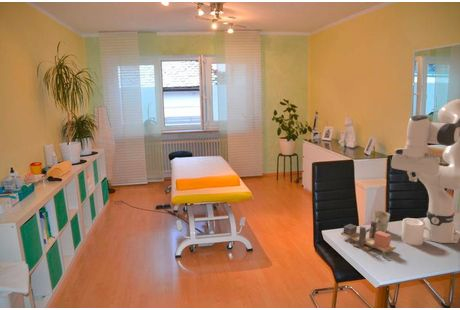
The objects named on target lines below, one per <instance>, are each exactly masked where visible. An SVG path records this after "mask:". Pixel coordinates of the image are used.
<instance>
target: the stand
mask: <svg viewBox="0 0 460 310" xmlns="http://www.w3.org/2000/svg"><path fill="white" fill-rule="evenodd" d="M376 226H377V222H375V221H374V220H371V221H370V227H373V228H374V229H372V238H374V239H375V233H376V232H377V231H376ZM365 230H367V227H365V226H361V225H360V227H359V233H360V234H359V241H357V242H355V243H354V244H353V245H352V246H353V247H355V248H357V249H360V250H363V251H365V252H369V251H371V250H373V249H375V248H374V247H372V246H369V245H366V244H365ZM386 253H387V252H386V251H382V255H381V256H382V258H386V255H387V254H386Z"/></svg>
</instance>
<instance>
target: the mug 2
mask: <svg viewBox="0 0 460 310" xmlns="http://www.w3.org/2000/svg"><path fill="white" fill-rule="evenodd" d="M423 221H424V220H421V219H418V218H413V217H412V218H410V217H406V218H403V219H402V224H401V225H402V226H401V235H400V240H401V241H402V242H403V243H405V244H407V245H411V246H420V245H421V246H422V245H423V244H424V241H425V242H430V241H431V240H430V239H431V230H430V228H429V227H425V223H424V222H423ZM424 229H426V230H429V233H430V236H429V238H425V237H424Z"/></svg>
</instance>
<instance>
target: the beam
mask: <svg viewBox="0 0 460 310" xmlns="http://www.w3.org/2000/svg"><path fill="white" fill-rule="evenodd" d="M357 228H358V226H357V225H356V224H355V225H354V224H352V223H349V224H346V225H344V226H343V231H341V233H340V235H341V236H343V237H346V238H349V239H351V240H354V241H357V242H359V234H360V232H357V230H358V229H357ZM372 229H374V228H373V227H371V226H370V227H369V228H366V230H365V244H366V245H369V246H372V247H374V248H373V249H377V250H380V251H381V252H383V251H386V253H387V254H389V253H391V252H392V251H394V250H396V249H397V247H396V245H393V244H391V243H390V246H389V247H387V248H383V247H381V246H378V245H375V244H374V238H372ZM368 232H369V234H368V235H367V233H368Z"/></svg>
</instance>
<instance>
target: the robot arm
mask: <svg viewBox="0 0 460 310" xmlns="http://www.w3.org/2000/svg"><path fill="white" fill-rule="evenodd" d="M429 118H430V117H428V116H427V115H421V114H419V115H413V116H411V117H409V120H408V123H407V127H406V128H407V129H406V142H405V145H404V147H399V148H394V150H393V153H394V154H392V158H391V161H390V167H391V169H395V170H400V171H401V170H402V171H406V173H407V176H408V181H410V182H414V183H417V182H418V181H420V182H421V184H423V186H424V187H425V189H426V191H427V194H428V209H427V211H426V217H425V218H424V219H423V220H422V221H423V222H424V223H425V227H429V228H430V230H431V239H430V240H429V241H432V242H435V243H441V244H458V243H459V241H460V231H459V230H457V228H458V224H457V223H456V222H455V220H454V219H455V218H454V217H455V214H456V212H455V211H454V205H455V200H454V198H453V197H452V196H451V195H450V194H449V193H448V192H447V191H446V190H445V189H449V190H453V191H460V98H457V99H453V100H451V101H449V102H447V103H446V104H444V105H443V106H442V107H441V108H440V109H439V111H438V113H437V119H438V121H439V122H433V121H430V119H429ZM428 144H433V145H441V146H446V147H445V149H444V150H443V153H442V159H443V160H444V162H445V163H447V164H448V165H446V166H445V165H440V163H441V157H440V156H439V155H438V154H435V153H434V154H433V153H428ZM413 173H415V176H413V175H412V174H413ZM429 236H430V233H429V230H426V229H424V237H423V238H429Z"/></svg>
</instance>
